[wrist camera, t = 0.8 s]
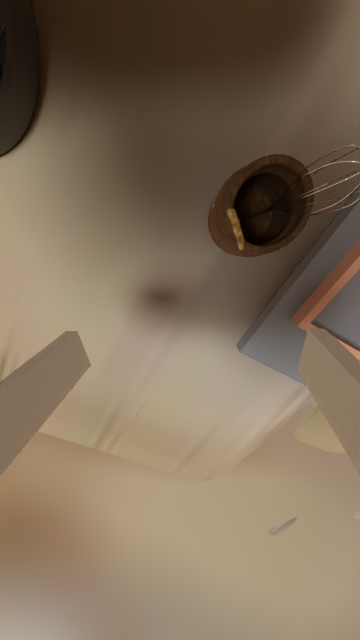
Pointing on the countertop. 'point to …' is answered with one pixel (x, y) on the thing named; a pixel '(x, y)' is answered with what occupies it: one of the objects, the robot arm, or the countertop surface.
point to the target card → (313, 299)
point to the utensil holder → (266, 205)
